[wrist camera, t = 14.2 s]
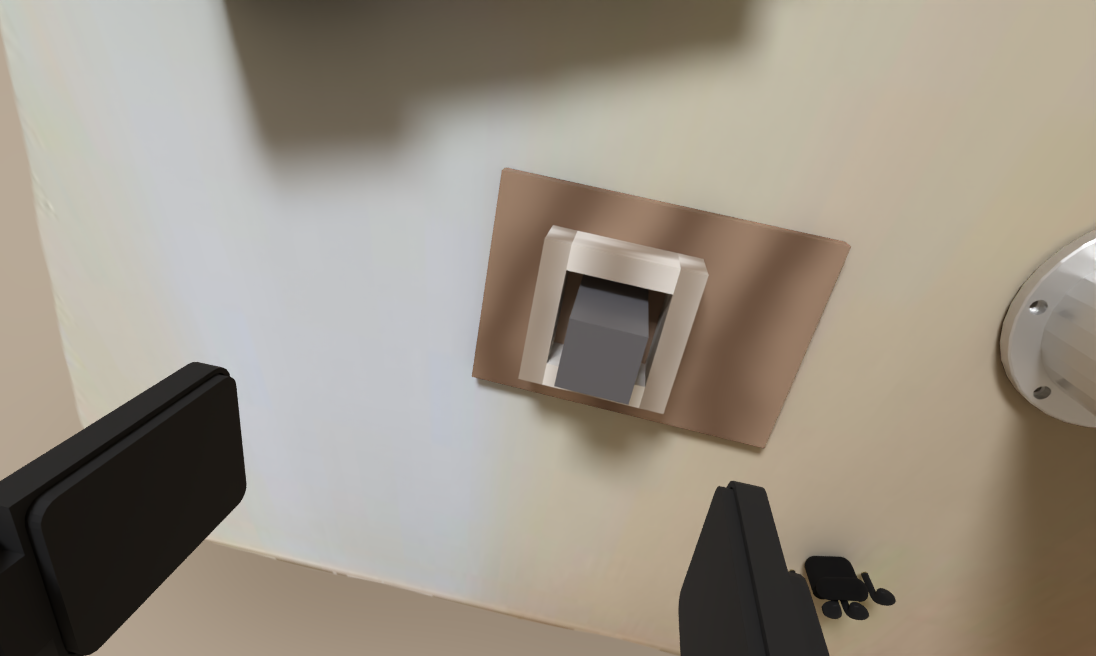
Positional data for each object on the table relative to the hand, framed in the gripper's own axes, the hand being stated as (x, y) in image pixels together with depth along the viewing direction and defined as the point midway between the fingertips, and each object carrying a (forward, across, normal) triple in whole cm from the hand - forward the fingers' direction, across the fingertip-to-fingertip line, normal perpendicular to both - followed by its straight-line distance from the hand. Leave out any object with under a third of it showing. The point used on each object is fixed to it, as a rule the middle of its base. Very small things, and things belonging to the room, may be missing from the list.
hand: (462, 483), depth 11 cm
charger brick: (+25, -2, +6) cm, 25 cm away
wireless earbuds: (+26, -21, +22) cm, 40 cm away
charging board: (+26, -4, +6) cm, 27 cm away
